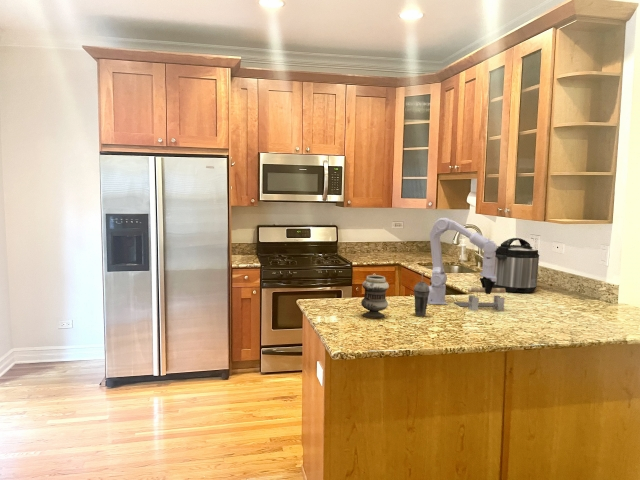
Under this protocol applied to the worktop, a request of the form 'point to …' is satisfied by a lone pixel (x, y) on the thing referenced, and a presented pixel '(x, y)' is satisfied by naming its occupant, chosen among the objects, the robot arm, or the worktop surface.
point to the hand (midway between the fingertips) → (486, 293)
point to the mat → (465, 304)
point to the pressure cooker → (516, 266)
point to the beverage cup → (421, 298)
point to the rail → (482, 290)
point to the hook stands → (474, 302)
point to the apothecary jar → (375, 296)
